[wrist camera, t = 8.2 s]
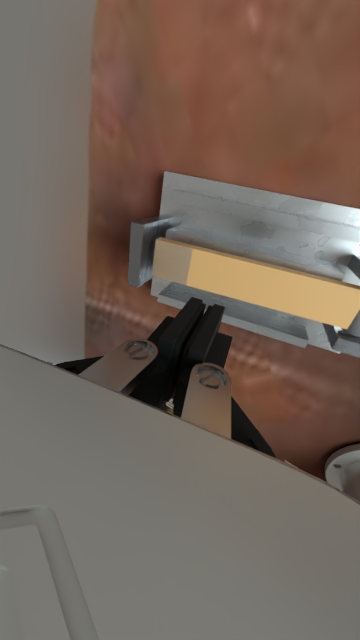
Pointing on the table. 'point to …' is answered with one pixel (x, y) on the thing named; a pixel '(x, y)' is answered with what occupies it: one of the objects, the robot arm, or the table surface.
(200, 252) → the tan rectangular bar
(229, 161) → the table surface
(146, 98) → the table surface
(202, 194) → the grey slotted holder
